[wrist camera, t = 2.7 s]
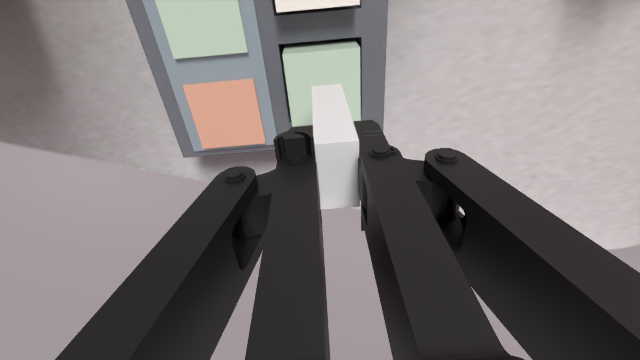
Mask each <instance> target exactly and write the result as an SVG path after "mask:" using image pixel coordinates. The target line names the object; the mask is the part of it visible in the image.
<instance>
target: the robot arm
mask: <svg viewBox="0 0 640 360" xmlns="http://www.w3.org/2000/svg"><path fill="white" fill-rule="evenodd" d="M312 112H313V126H303V127H292V128H290V129H289V130H288V131H286V132H284V133H281V134H279V135H277V136H276V137H275V138H274V140H273V142H274V147H275V153H276V158H277V166H276V169H274V170H272V171H270V172H268V173H265V174H261V175H257V176H256V173H255V171H254V170H253V169H251V168H250V167H244V166H242V167H233V168H228V169H227V170H225V171H223V172H221V173H220V174H218V175H217V176H216V177H215V178H214V179H213V181H212V182H211V183H210V184H209V185H208V186H207V187H206V189H205V190H204V191H203V192H202V193H201V194H200V196H199V197H198V198H197V199H196V200H195V201H194V202H193V204H192V205H191V206H190V207H189V208H188V209H187V210H186V211H185V212H184V214H183V215H182V216H181V217H180V218H179V220H178V221H177V222H176V223H175V224H174V225H173V226H172V227H171V228H170V229H169V231H168V232H167V233H166V234H165V235H164V236H163V237H162V239H161V240H160V241H159V242H158V243H157V244H156V246H155V247H154V248H153V249H152V250H151V251H150V252H149V253H148V254H147V256H146V257H145V258H144V259H143V260H142V261H141V262H140V264H139V265H138V266H137V267H136V268H135V269H134V270H133V272H132V273H131V274H130V275H129V276H128V277H127V278H126V279H125V281H124V282H123V283H122V284H121V285H120V286H119V287H118V289H117V290H116V291H115V292H114V293H113V294H112V295H111V297H110V298H109V299H108V300H107V301H106V302H105V303H104V305H103V306H102V307H101V308H100V309H99V310H98V312H97V313H96V314H95V315H94V316H93V317H92V318H91V319H90V320H89V322H88V323H87V324H86V325H85V326H84V327H83V328H82V330H81V331H80V332H79V333H78V334H77V335H76V336H75V337H74V339H73V340H72V341H71V342H70V343H69V344H68V346H67V347H66V348H65V349H64V350H63V351H62V352H61V353H60V355H59V356H58V357H57V358H56V359H55V360H210V358H211V355H212V354H213V352H214V350H215V348H216V346H217V344H218V342H219V339H220V337H221V336H222V333H223V331H224V329H225V327H226V325H227V323H228V321H229V319H230V317H231V315H232V313H233V311H234V309H235V306H236V304H237V302H238V300H239V298H240V296H241V294H242V292H243V290H244V288H245V285H246V283H247V282H248V279H249V277H250V275H251V273H252V271H253V269H254V267H255V265H256V263H257V261H258V258H259V257H260V254H261V252H262V250H263V252H262V259H261V264H260V270H259V277H258V283H257V289H256V295H255V302H254V307H253V313H252V320H251V326H250V332H249V338H248V344H247V350H246V356H245V360H330V349H329V332H328V316H327V298H326V283H325V266H324V249H323V234H322V217H321V210H322V209H334V208H346V207H359V206H360V200H361V230H362V231H364V230H365V234H366V239H367V243H368V248H369V251H370V257H371V261H372V265H373V270H374V275H375V279H376V284H377V288H378V293H379V297H380V302H381V306H382V311H383V315H384V320H385V324H386V329H387V333H388V338H389V343H390V347H391V352H392V356H393V360H524V359H522V358H519V357H515V356H511V355H510V354H508V353H507V352H506V351H505V350H504V348H503V346H502V345H501V343H500V341H499V339H498V338H497V336H496V334H495V332H494V330H493V328H492V326H491V324H490V323H489V320H488V319H487V317H486V315H485V313H484V311H483V309H482V307H481V305H480V303H479V301H478V299H477V298H476V296H475V294H474V292H473V290H472V288H473V289H474V291H475V292H476V293H477V294H478V295H479V296H480V298H481V299H482V300H483V301H484V302H485V304H486V305H487V306H488V307H489V308H490V310H491V311H492V312H493V313H494V314H495V315H496V317H497V318H498V319H499V320H500V322H501V323H502V324H503V325H504V326H505V327H506V329H507V330H508V331H509V332H510V333H511V334H512V336H513V337H514V338H515V339H516V340H517V342H518V343H519V344H520V345H521V347H522V348H523V349H524V350H525V351H526V352H527V354H528V355H529V356H530V357H531V358H532V359H533V360H640V273H639V272H638V271H636V270H635V269H633V268H631V267H630V266H629V265H627V264H626V263H624V262H622V261H621V260H620V259H618V258H617V257H616V256H614V255H613V254H611V253H610V252H608V251H607V250H605V249H604V248H602V247H601V246H599V245H598V244H596V243H595V242H593V241H592V240H591V239H589V238H588V237H586V236H585V235H583V234H582V233H580V232H579V231H577V230H576V229H574V228H573V227H571V226H570V225H568V224H567V223H566V222H564V221H563V220H561V219H560V218H558V217H557V216H555V215H554V214H552V213H551V212H549V211H548V210H546V209H545V208H543V207H542V206H541V205H539V204H538V203H536V202H535V201H533V200H532V199H530V198H529V197H527V196H526V195H524V194H523V193H521V192H520V191H518V190H517V189H516V188H514V187H513V186H511V185H510V184H508V183H507V182H505V181H504V180H502V179H501V178H499V177H498V176H496V175H495V174H493V173H492V172H491V171H489V170H488V169H486V168H485V167H483V166H482V165H480V164H479V163H477V162H476V161H474V160H473V159H471V158H470V157H468V156H467V155H466V154H464V153H462V152H460V151H457V150H453V149H451V148H447V149H446V148H440V149H433V150H431V151H428V152H427V153H426V154H425V161H419V160H410V159H405V158H403V157H402V155H401V153H400V151H399V150H398V149H397V148H395V147H393V146H390V145H389V144H388V142H387V140H386V138H385V136H384V134H383V132H382V130H381V127H380V125H379V124H378V123H376V122H375V121H373V120H362V121H353V120H352V117H351V113H350V110H349V107H348V104H347V101H346V98H345V94H344V91H343V88H342V85H341V84H333V85H322V86H312ZM459 207H461V208H462V209H463V210H464V212H465V216H464V215H463V214H462V213H461V212H460V211H459ZM471 287H472V288H471Z"/></svg>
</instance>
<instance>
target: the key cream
mask: <svg viewBox="0 0 640 360" xmlns="http://www.w3.org/2000/svg"><path fill="white" fill-rule="evenodd" d="M275 5H276V12H287V11H298V10H309V9H320V8H330V7H341V6H352V5H360V0H275Z"/></svg>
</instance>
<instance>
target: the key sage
mask: <svg viewBox="0 0 640 360" xmlns="http://www.w3.org/2000/svg"><path fill="white" fill-rule="evenodd" d="M282 56H283V63H284V70H285V78H286V85H287V92H288V99H289V106H290V114H291V121H292V127H295V126H306V125H313V112H312V86H322V85H333V84H341V85H342V88H343V91H344V94H345V98H346V101H347V104H348V107H349V110H350V113H351V117H352V120H353V121H361V96H360V47H359V45H358V44H357V42H356V41H355V40H346V41H335V42H324V43H313V44H302V45H291V46H285V47H284V51H283V54H282Z"/></svg>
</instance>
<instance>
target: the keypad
mask: <svg viewBox="0 0 640 360" xmlns="http://www.w3.org/2000/svg"><path fill="white" fill-rule="evenodd" d="M126 3H127V6H128V8H129V11H130V14H131V17H132V19H133V22H134V25H135V27H136V30H137V33H138V36H139V38H140V41H141V44H142V46H143V49H144V52H145V54H146V57H147V60H148V63H149V65H150V68H151V71H152V73H153V76H154V79H155V82H156V84H157V87H158V90H159V92H160V95H161V98H162V101H163V103H164V106H165V109H166V111H167V114H168V117H169V119H170V122H171V125H172V128H173V130H174V133H175V136H176V138H177V141H178V144H179V147H180V149H181V152H182V155H183V157H195V156H207V155H218V154H230V153H241V152H253V151H264V150H275V147H274V142H273V140H274V138H275V137H276V136H277V135H279V134H281V133H284V132H286V131H288V130H289V129H290V128H292V121H291V114H290V106H289V99H288V92H287V85H286V78H285V70H284V63H283V56H282V54H283V51H284V47H285V46H291V45H302V44H313V43H324V42H335V41H346V40H355V41H356V42H357V44H358V45H359V47H360V96H361V121H362V120H373V121H375V122H376V123H378V124H379V125H380V127H381V130H382V132H383V120H384V93H385V66H386V39H387V12H388V0H360V5H352V6H341V7H330V8H320V9H309V10H298V11H287V12H276V5H275V0H126ZM306 126H313V125H306ZM295 127H303V126H295Z"/></svg>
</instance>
